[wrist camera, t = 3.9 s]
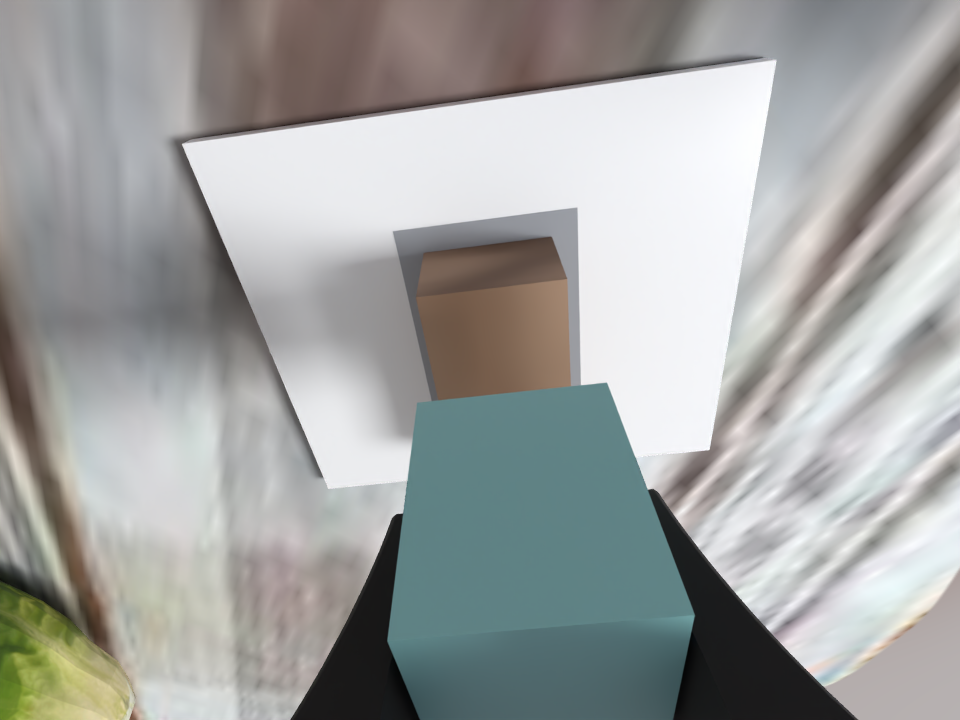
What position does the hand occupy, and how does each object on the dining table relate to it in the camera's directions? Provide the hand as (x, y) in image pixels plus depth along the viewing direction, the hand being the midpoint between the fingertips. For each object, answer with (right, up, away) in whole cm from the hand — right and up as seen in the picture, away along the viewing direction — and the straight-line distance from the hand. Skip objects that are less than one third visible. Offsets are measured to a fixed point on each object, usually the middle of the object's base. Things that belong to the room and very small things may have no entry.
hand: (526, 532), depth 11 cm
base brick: (0, +4, +7) cm, 8 cm away
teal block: (0, +1, +1) cm, 2 cm away
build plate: (0, +5, +7) cm, 9 cm away
